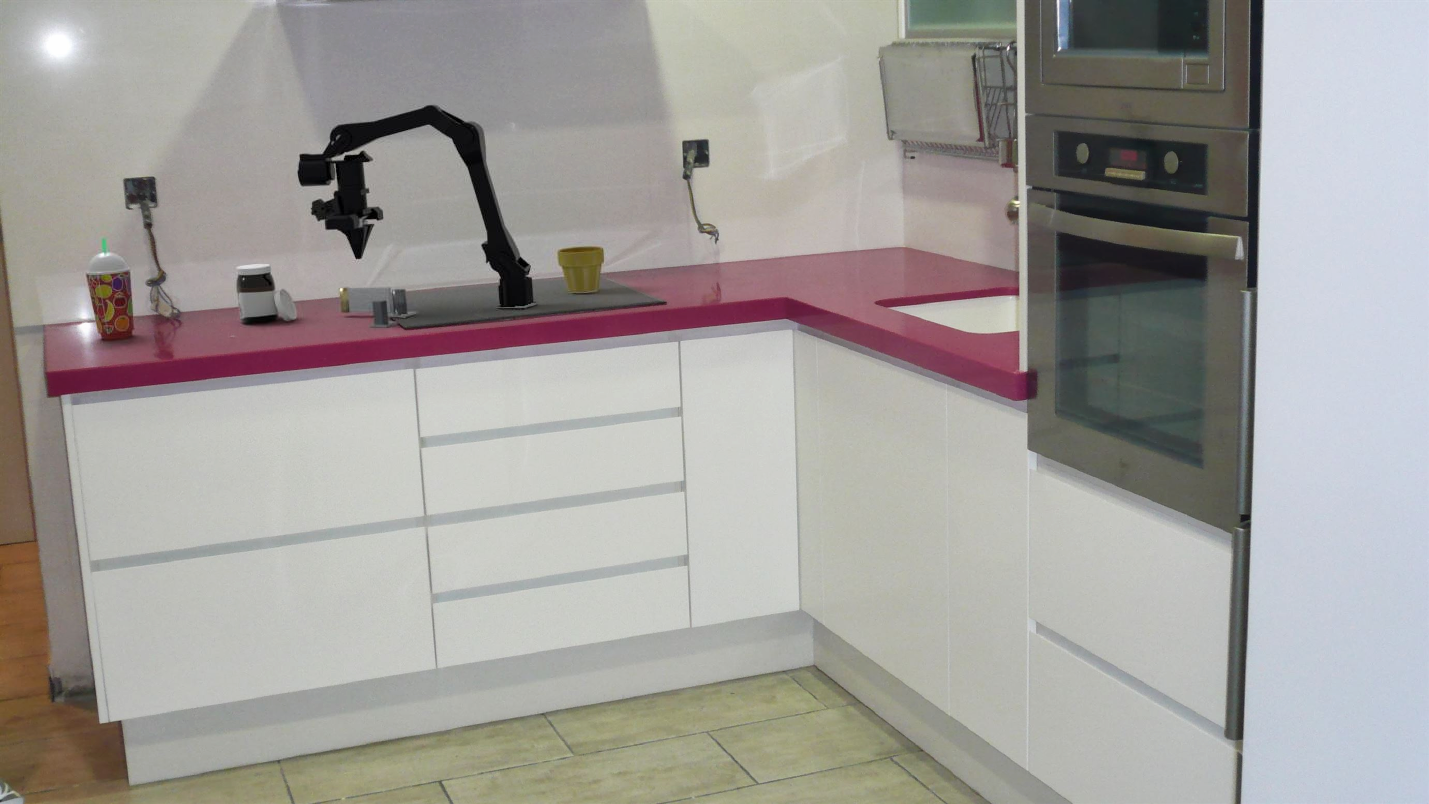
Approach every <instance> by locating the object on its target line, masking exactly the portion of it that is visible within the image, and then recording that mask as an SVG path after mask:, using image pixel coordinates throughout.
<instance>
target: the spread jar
mask: <svg viewBox="0 0 1429 804" xmlns="http://www.w3.org/2000/svg"><path fill="white" fill-rule="evenodd" d="M271 272H272V267H271V264H267V263H256V264H254V263H252V264H244V265H239V266H236V274H237V277H236V283H235V286H236V287H235V288H236V297H237V304H238V305H237V306H238V310H239V311H238V312H239V319H240V321H241V323H242V324H245V325H262V324H267V323H268V324H269V323H273V322H276V321H277V320H278V318H279V315H280V316H281V318H282V319H283V320H284V321H286V322H291V321H294V320H296V319H297V316H298V311H297V307H296V304H295V302H294V299H293V298H292V296H291V295H290V293H289V291H287V290H286V289H285V288H280V289H278V290H276V284H275V279H274V277H273V274H271Z"/></svg>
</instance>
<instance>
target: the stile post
mask: <svg viewBox="0 0 1429 804" xmlns="http://www.w3.org/2000/svg"><path fill="white" fill-rule="evenodd" d="M372 304H373V312H372V313H373V322H374V323H371V324H369V328H382V329H385V328H389V327H393V326H396V325H398V321H389V318H388V314H389V312H387V301H386V300H377V301H373V302H372Z"/></svg>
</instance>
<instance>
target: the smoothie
mask: <svg viewBox="0 0 1429 804" xmlns="http://www.w3.org/2000/svg"><path fill="white" fill-rule="evenodd" d="M101 244H102V252H98V253H97V254H95V255H94V256H92V258H90V261H89V262H88V265H87V267H86V270H85V271H84V274H85V277H86V282H87V286H88V290H89V291H88V292H89V295H90V301H91V306H92V310H93V314H94V320H95V323H96V325H95V326H96V329H97V333H98V334H100V337H101V339H102V340H106V341H114V340H115V341H116V340H124V339H125V340H126V339H128V338H131V337H132V336H133V331H134V330H135V320H134V307H133V306H134V305H133V295H132V279H131V277H132V276H131V267H129V265H128V263H127V262H126V260H125V259H124V258H123V257H122V256H121V255H120V254H117V253H116V252H115V253H114V252H113V251H108V249H107V243H106V238H104V237H102V238H101Z"/></svg>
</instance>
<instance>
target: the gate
mask: <svg viewBox="0 0 1429 804" xmlns="http://www.w3.org/2000/svg"><path fill="white" fill-rule="evenodd" d="M338 291H339V292H338V293H339V299H340V300H339V302H340V312H341V313H344V314H345V313H346V314H347V313H373V304H372V302H373V301H377V300H386V301H387V312H388V313H392V312H394V308H393V297H392V289H391V287H390V286H387V287H385V286H384V287H381V286H379V287H378V286H377V287H349V286H348V287H340V288H339V289H338Z"/></svg>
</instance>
